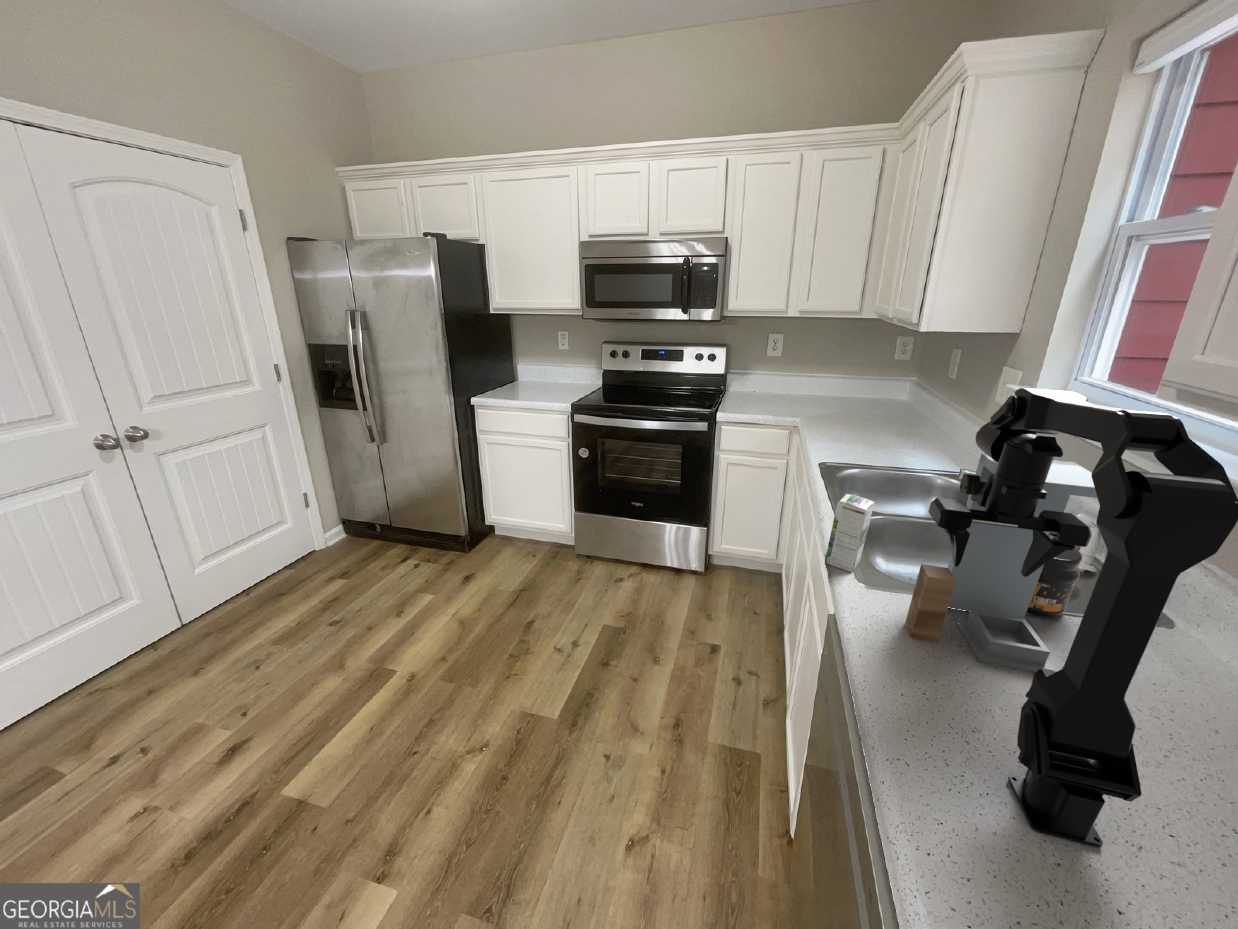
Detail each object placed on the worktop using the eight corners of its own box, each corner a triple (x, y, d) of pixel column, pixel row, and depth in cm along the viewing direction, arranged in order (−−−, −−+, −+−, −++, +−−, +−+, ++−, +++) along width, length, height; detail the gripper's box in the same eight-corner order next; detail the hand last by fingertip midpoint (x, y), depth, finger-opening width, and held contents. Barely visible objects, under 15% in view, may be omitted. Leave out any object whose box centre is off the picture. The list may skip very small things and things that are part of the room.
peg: (937, 642, 83) (956, 581, 79) (910, 637, 84) (928, 576, 80) (930, 627, 86) (948, 567, 82) (905, 623, 87) (921, 563, 83)
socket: (1053, 676, 76) (1060, 657, 75) (978, 661, 79) (984, 643, 78) (1023, 634, 85) (1029, 617, 84) (957, 622, 88) (962, 606, 87)
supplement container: (998, 609, 92) (1018, 552, 88) (989, 580, 101) (1007, 527, 97) (1070, 627, 87) (1095, 568, 83) (1055, 596, 96) (1077, 541, 92)
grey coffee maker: (1051, 660, 80) (1121, 490, 69) (959, 643, 83) (1013, 478, 73) (1017, 614, 90) (1074, 462, 80) (937, 601, 94) (981, 452, 83)
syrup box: (832, 553, 110) (844, 492, 104) (861, 562, 106) (875, 500, 101) (824, 563, 105) (836, 500, 100) (853, 573, 102) (867, 509, 97)
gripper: (1067, 464, 76) (1034, 553, 82) (930, 451, 81) (909, 536, 87) (1112, 493, 66) (1071, 592, 72) (953, 476, 71) (927, 570, 76)
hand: (989, 570), depth 77 cm, fingers open, 9 cm apart
